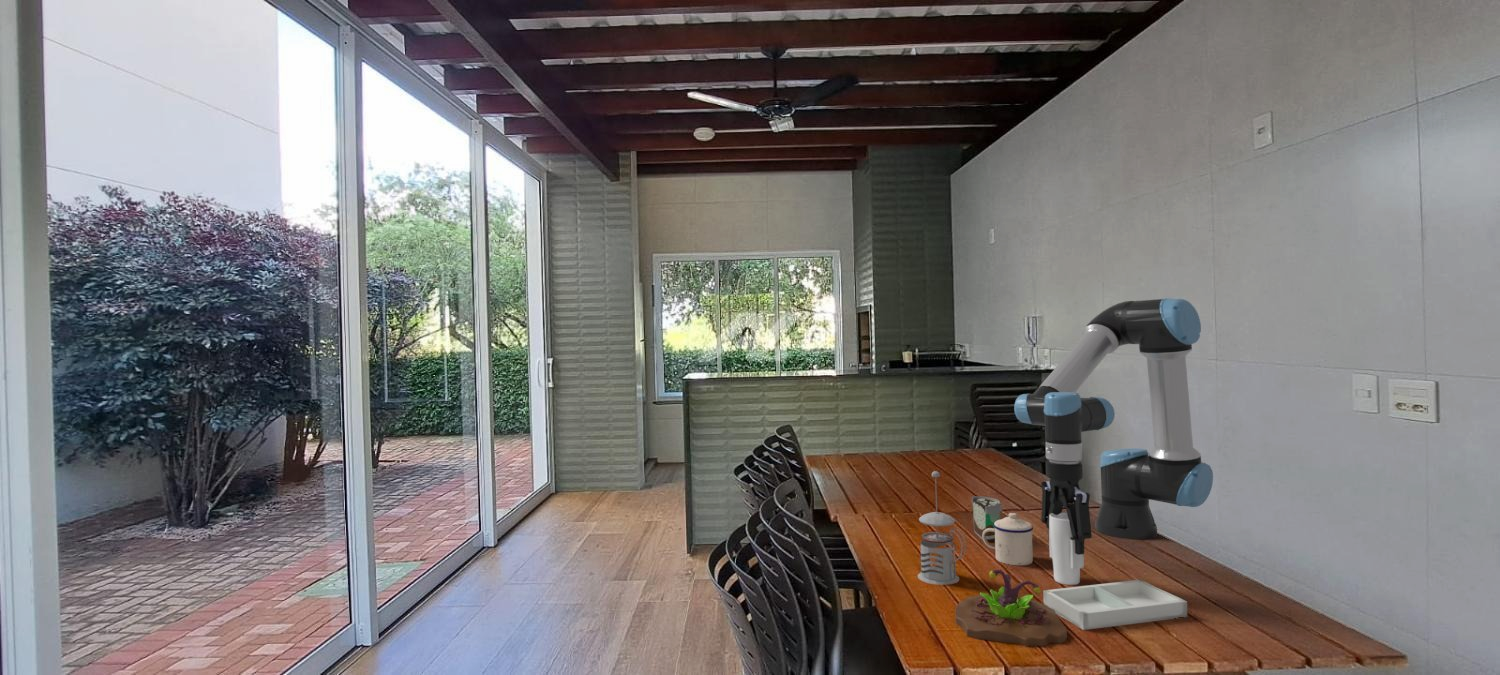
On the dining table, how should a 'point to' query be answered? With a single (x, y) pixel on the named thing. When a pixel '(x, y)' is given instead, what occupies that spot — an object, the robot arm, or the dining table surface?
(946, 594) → the dining table surface
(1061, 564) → the drinking glass
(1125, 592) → the divided tray
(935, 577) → the french press
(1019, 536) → the teacup with lid
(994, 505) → the food container
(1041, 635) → the plant
